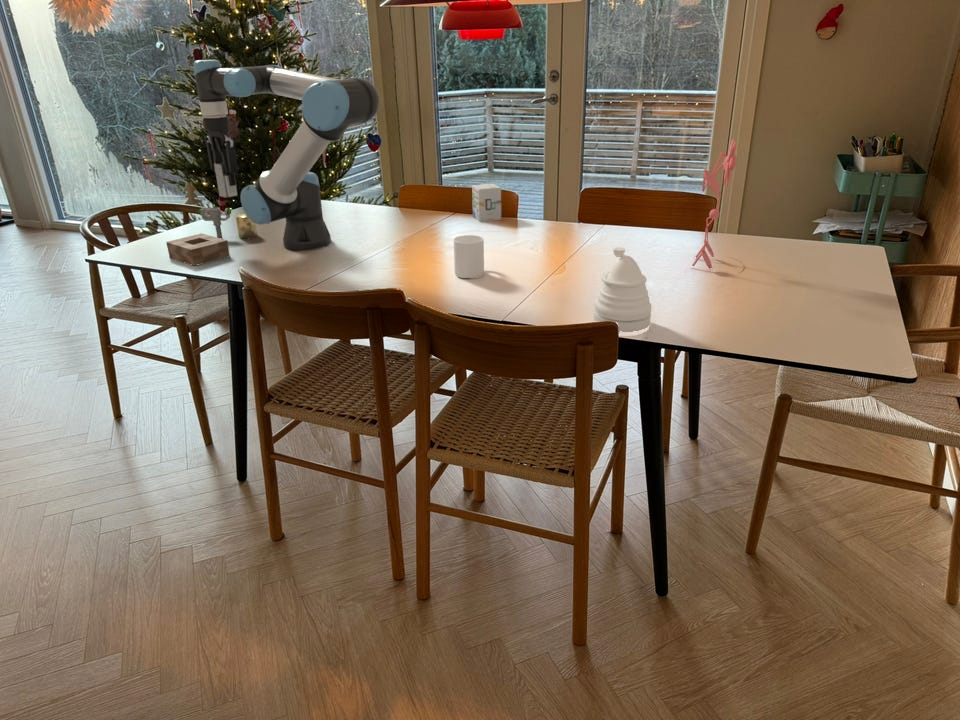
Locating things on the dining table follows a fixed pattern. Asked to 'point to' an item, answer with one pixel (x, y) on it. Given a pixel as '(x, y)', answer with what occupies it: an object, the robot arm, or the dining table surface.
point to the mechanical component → (215, 217)
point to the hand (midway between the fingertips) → (228, 194)
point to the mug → (469, 256)
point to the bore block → (198, 249)
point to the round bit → (246, 227)
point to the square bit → (221, 179)
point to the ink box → (486, 202)
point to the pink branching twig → (712, 182)
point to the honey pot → (624, 295)
